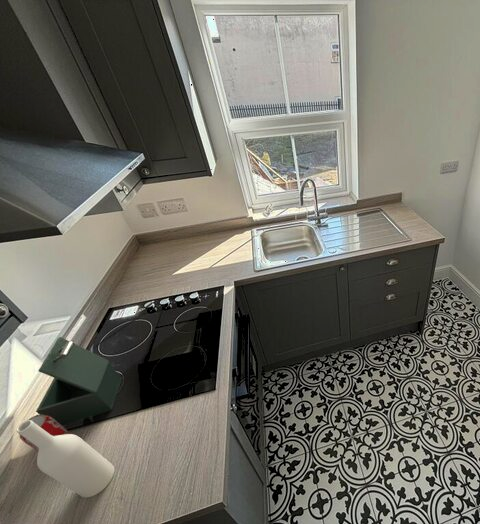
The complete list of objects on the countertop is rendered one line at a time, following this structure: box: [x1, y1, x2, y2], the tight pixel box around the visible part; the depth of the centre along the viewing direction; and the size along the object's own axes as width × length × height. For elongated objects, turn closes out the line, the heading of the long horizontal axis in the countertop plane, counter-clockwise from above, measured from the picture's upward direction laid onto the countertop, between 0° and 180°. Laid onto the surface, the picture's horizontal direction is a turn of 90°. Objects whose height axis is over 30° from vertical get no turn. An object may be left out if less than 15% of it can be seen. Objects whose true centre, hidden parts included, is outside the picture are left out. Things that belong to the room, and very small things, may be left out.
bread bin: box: [35, 361, 123, 427], centre depth 97 cm, size 16×13×10 cm
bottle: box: [16, 419, 115, 498], centre depth 72 cm, size 8×8×30 cm
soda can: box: [18, 414, 71, 452], centre depth 85 cm, size 7×7×12 cm
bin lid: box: [37, 336, 110, 394], centre depth 91 cm, size 16×13×5 cm
